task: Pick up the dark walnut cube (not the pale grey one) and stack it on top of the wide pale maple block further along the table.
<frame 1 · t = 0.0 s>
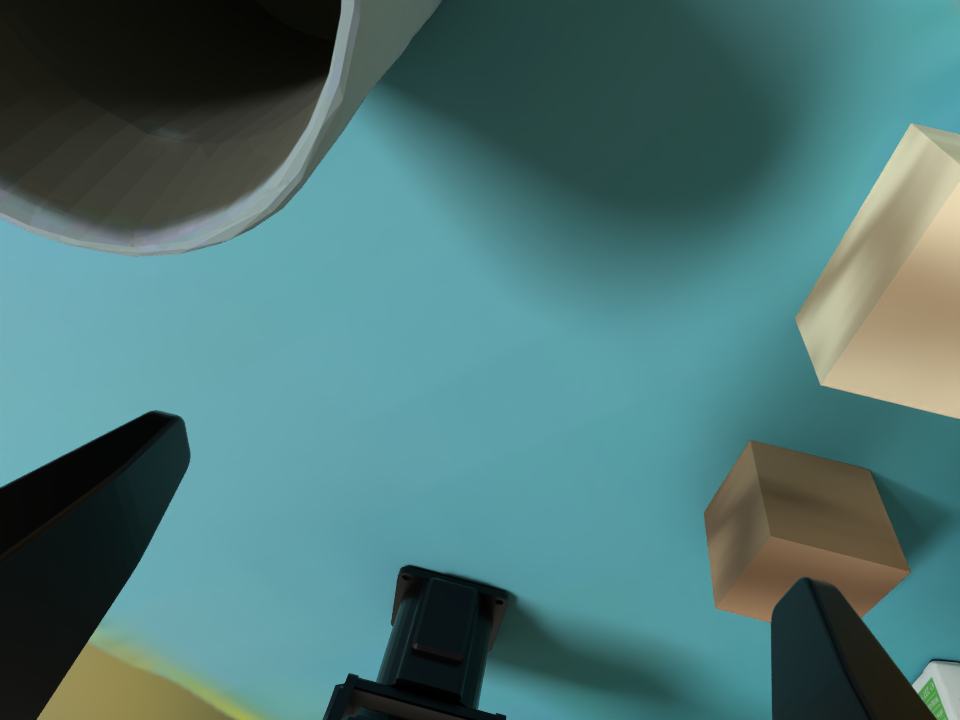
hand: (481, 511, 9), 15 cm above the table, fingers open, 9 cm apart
maple block: (952, 253, 20), on the table
walnut cube: (781, 490, 28), on the table
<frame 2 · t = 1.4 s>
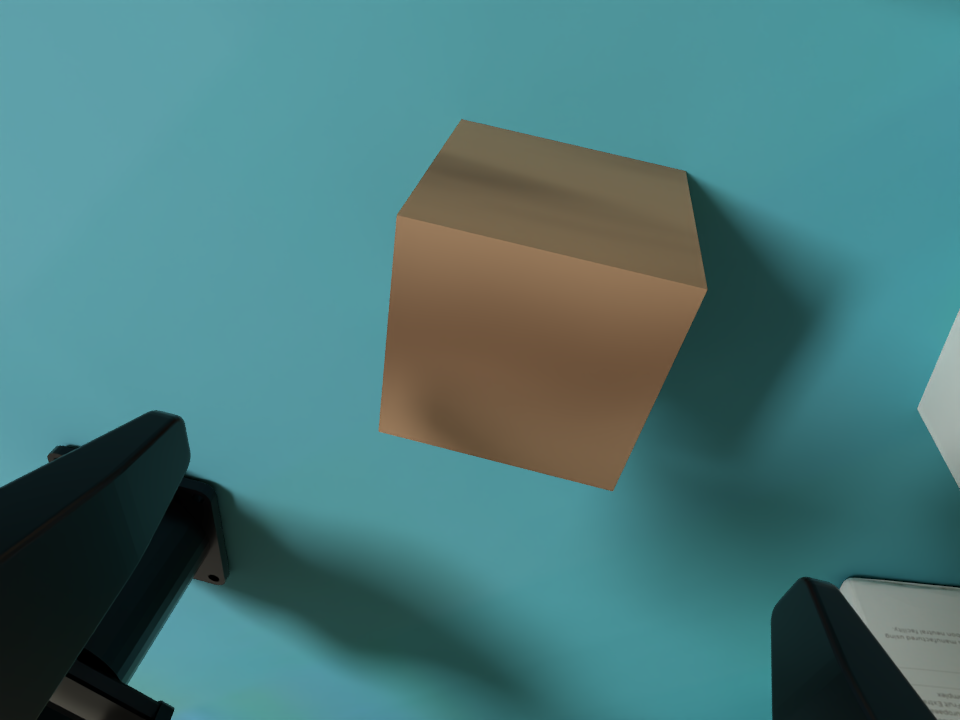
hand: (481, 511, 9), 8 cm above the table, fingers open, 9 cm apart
walnut cube: (546, 243, 15), on the table
skincare box: (909, 644, 22), on the table
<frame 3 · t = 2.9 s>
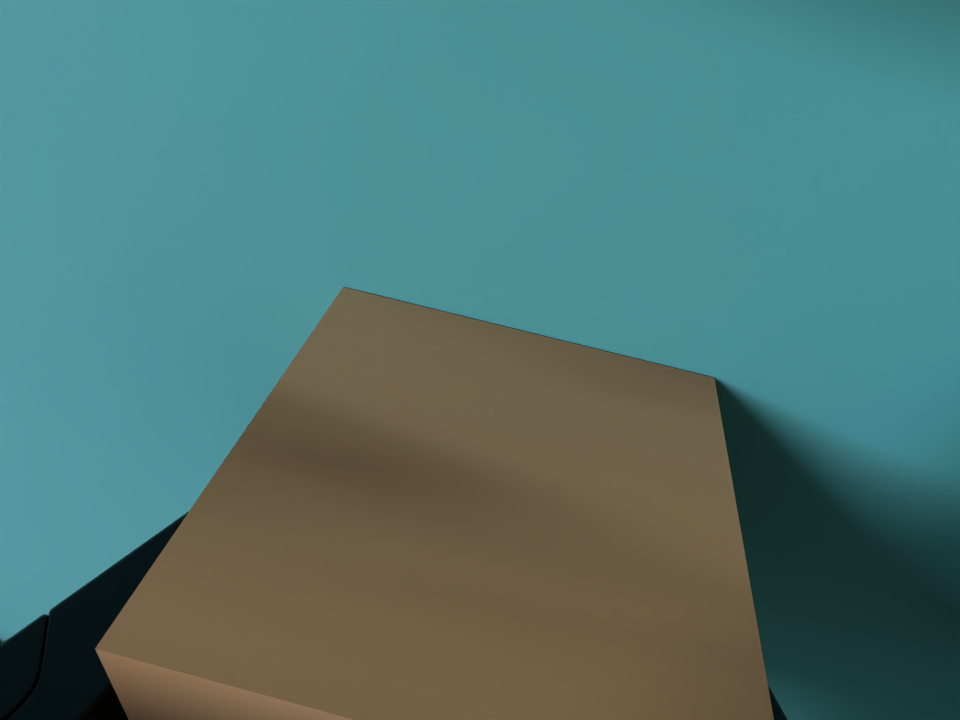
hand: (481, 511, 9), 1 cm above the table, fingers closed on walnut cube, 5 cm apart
walnut cube: (493, 458, 10), on the table, touching gripper
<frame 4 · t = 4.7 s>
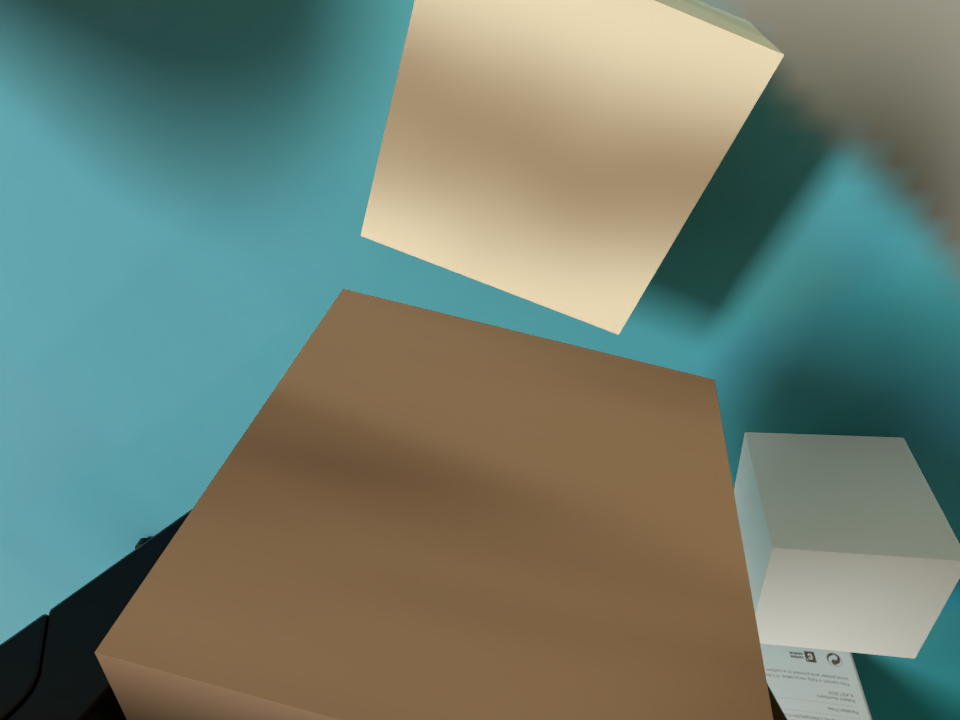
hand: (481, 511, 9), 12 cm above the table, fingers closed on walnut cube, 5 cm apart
maple block: (556, 108, 17), on the table
grey cube: (807, 483, 23), on the table
walnut cube: (493, 459, 10), point 11 cm above the table, touching gripper
skincare box: (763, 673, 31), on the table
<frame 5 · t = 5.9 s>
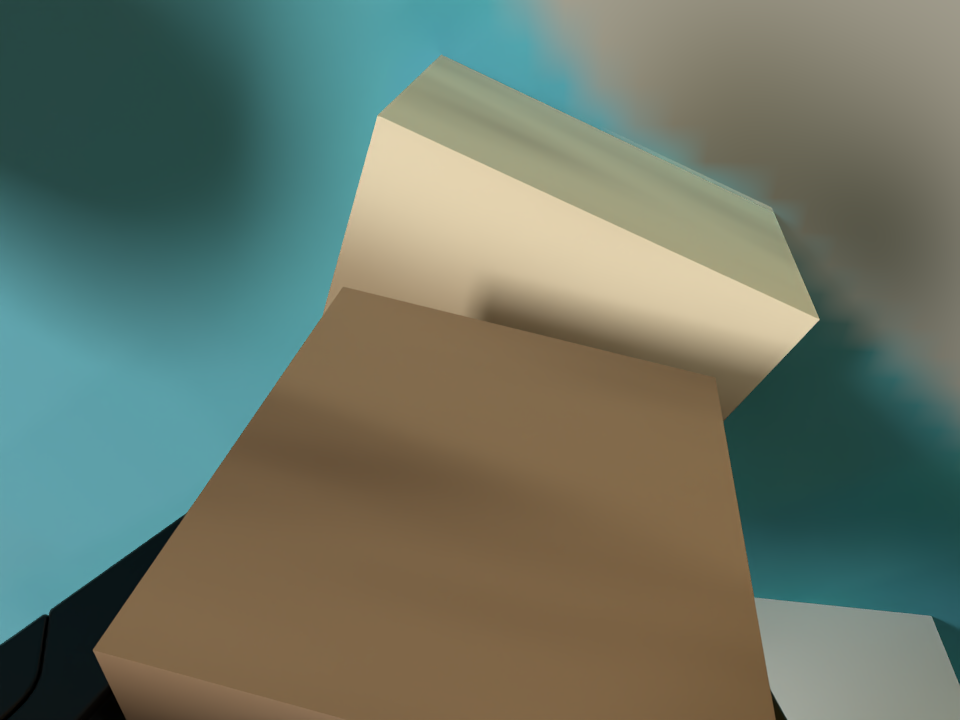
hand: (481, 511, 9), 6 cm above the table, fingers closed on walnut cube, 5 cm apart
maple block: (536, 273, 14), on the table
grey cube: (819, 647, 21), on the table
walnut cube: (493, 458, 10), point 5 cm above the table, touching gripper
when the fingers open (6 cm above the table, at t = 6.5 s): walnut cube drops 2 cm, resting on maple block.
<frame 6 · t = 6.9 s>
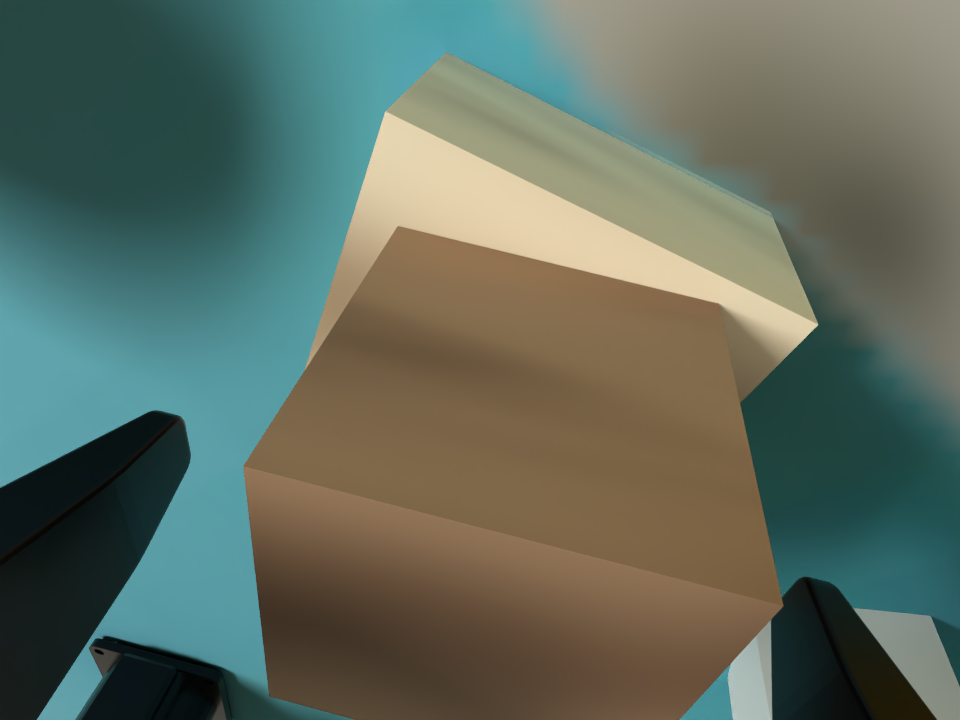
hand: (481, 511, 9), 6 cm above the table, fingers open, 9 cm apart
maple block: (535, 273, 14), on the table, touching walnut cube
grey cube: (818, 647, 21), on the table
walnut cube: (522, 385, 11), point 4 cm above the table, touching maple block
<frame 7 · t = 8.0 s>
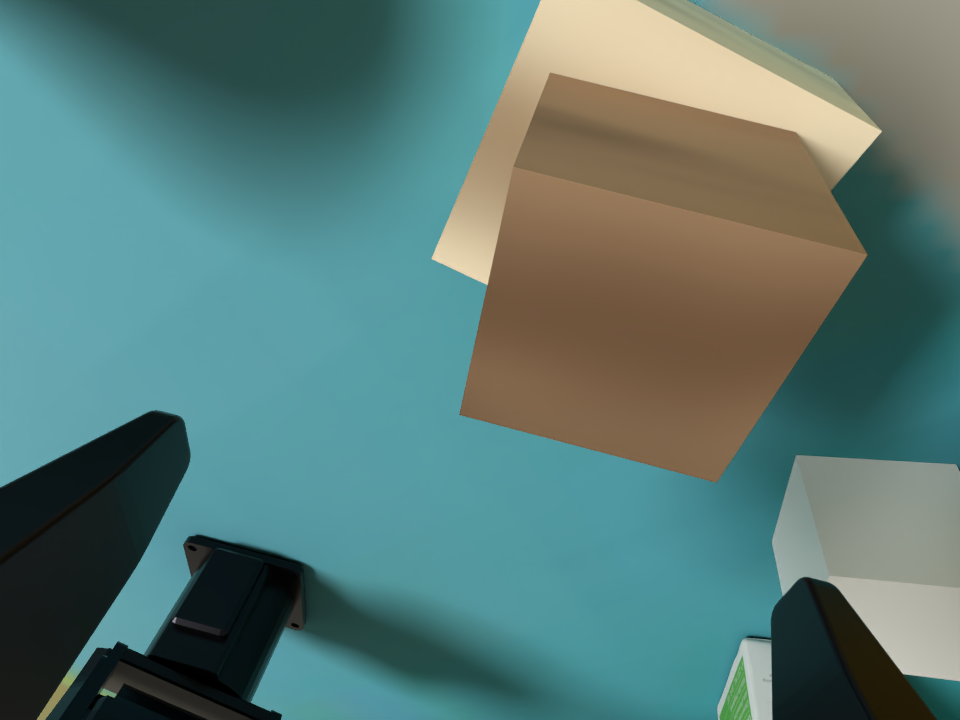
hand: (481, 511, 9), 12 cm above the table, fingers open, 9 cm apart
maple block: (628, 141, 17), on the table, touching walnut cube
grey cube: (855, 504, 23), on the table
walnut cube: (630, 214, 14), point 4 cm above the table, touching maple block
skincare box: (795, 680, 32), on the table
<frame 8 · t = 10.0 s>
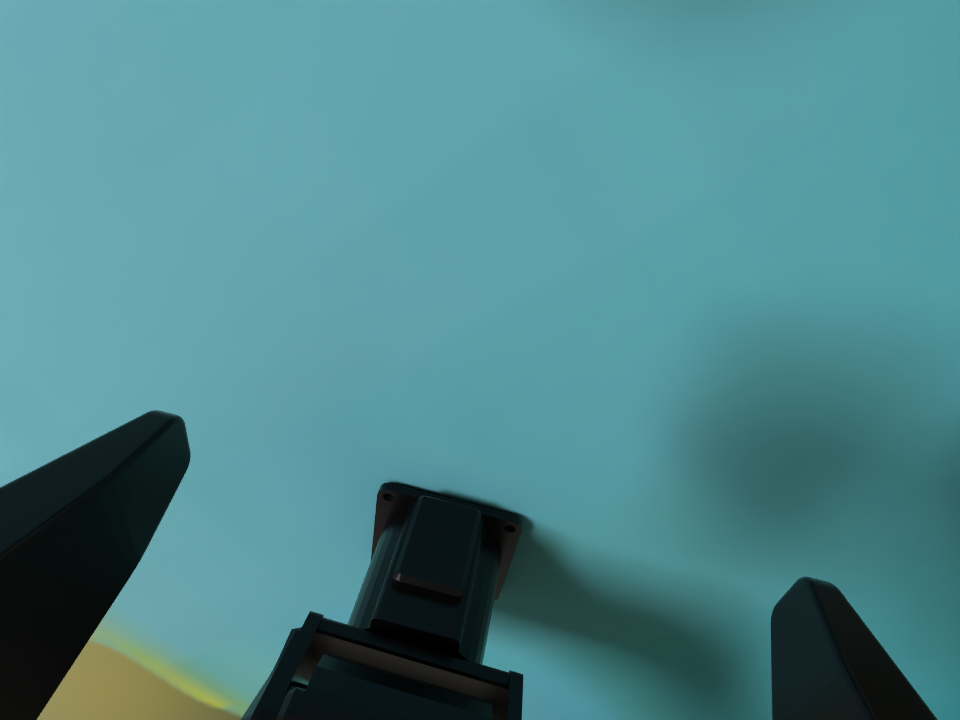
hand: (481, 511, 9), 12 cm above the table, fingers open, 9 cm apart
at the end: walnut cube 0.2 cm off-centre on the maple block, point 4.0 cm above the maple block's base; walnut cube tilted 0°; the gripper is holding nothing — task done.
